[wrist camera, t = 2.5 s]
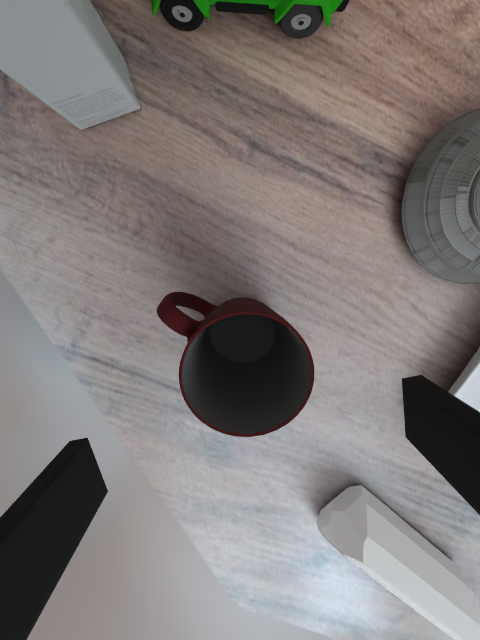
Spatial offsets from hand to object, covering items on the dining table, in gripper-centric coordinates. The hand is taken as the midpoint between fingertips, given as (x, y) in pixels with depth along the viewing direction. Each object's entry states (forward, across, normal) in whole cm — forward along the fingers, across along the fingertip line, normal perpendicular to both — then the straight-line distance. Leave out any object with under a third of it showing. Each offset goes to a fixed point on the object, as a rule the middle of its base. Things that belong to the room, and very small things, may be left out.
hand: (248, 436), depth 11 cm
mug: (+18, -1, +1) cm, 18 cm away
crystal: (+18, +13, -32) cm, 39 cm away
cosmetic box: (+18, -8, +23) cm, 30 cm away
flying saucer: (+18, +24, +8) cm, 31 cm away
